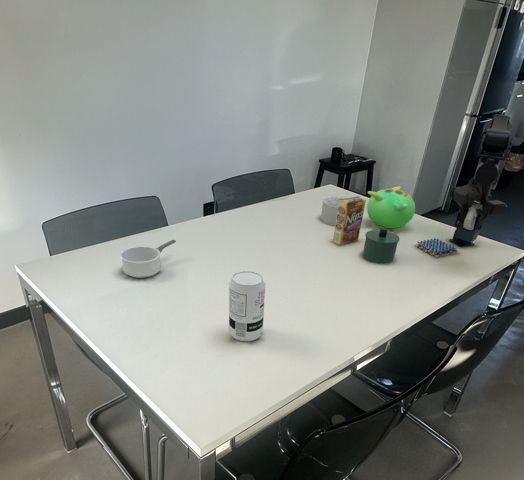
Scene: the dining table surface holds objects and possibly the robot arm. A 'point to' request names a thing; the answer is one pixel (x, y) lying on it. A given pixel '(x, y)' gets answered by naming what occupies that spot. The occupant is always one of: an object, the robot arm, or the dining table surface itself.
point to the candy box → (349, 220)
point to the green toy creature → (390, 207)
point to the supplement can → (246, 305)
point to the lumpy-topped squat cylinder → (330, 210)
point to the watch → (469, 225)
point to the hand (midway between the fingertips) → (468, 226)
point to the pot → (379, 252)
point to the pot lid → (382, 236)
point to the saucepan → (142, 260)
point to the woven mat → (436, 247)
